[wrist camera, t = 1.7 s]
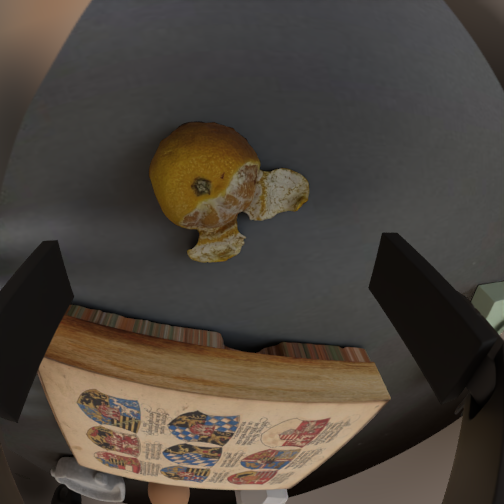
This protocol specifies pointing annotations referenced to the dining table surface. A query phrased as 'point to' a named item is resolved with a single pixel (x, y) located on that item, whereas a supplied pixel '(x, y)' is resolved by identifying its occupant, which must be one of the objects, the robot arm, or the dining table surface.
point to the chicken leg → (261, 496)
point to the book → (202, 402)
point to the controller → (65, 496)
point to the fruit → (218, 186)
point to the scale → (490, 303)
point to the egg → (168, 494)
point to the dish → (89, 481)
